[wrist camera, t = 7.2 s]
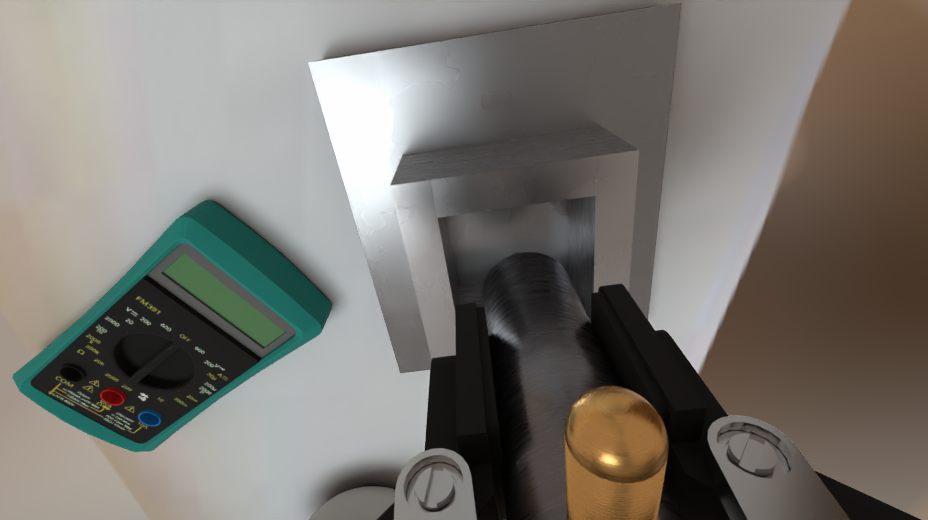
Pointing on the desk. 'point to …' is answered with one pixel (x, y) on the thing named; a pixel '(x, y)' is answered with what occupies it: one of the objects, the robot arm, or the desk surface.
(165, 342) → the digital multimeter
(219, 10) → the desk surface
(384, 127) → the block
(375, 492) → the pump dispenser
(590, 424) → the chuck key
